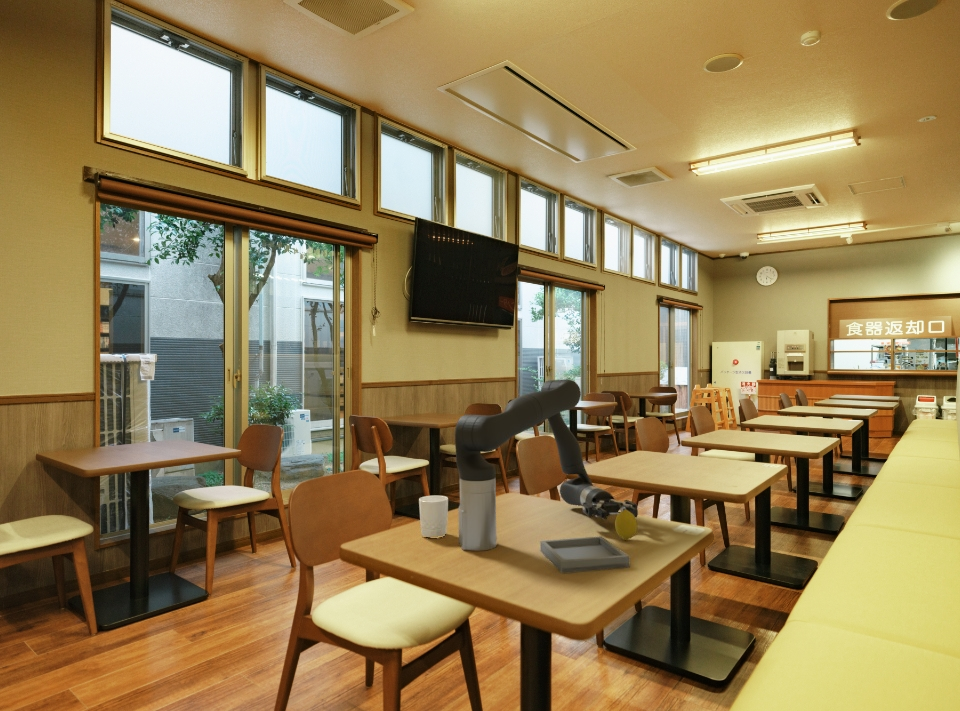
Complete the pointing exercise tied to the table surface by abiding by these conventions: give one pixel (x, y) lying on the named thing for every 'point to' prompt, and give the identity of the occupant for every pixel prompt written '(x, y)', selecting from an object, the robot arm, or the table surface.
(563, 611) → the table surface
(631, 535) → the lemon
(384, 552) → the table surface
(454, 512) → the table surface
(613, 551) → the tray
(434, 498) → the white cup
